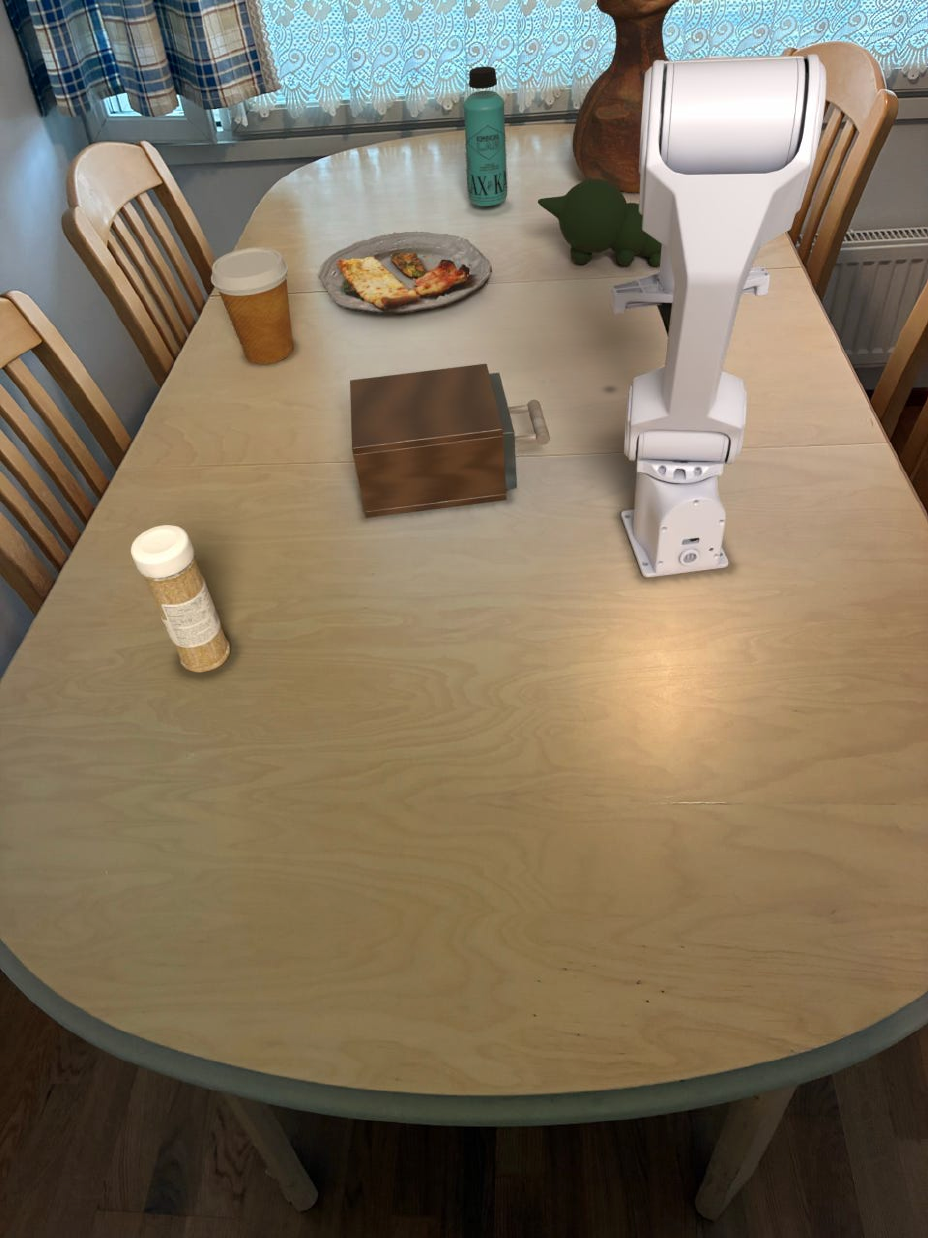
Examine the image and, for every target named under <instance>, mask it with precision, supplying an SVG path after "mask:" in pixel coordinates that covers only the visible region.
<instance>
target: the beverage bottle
mask: <svg viewBox="0 0 928 1238" xmlns="http://www.w3.org/2000/svg"><path fill="white" fill-rule="evenodd" d="M496 71H497V70H496V68H495V67H492V66H477V67H473V68H472V69H470V70H469V78H468V87H470V88H471V89H476V90H480V91H475V92H472V93H470V94H469V95H468V96H467V98H466V99H465V100H464V102H463V106H462V107H463V108H462V109H463V113H464V114H463V117H464V135H465V136H464V137H465V144H464V146H465V157H464V158H465V162H466V163H465V166H466V169H465V171H466V184H467V185H466V187H467V188H466V189H467V193H468V199H469V202H470V203H471V204H472V205H475V206H479V207H489V206H496V205H499V204H501V203H504V202H505V201H506V200H507V198H508V197H507V196H508V191H509V190H508V189H509V185H508V183H509V181H508V178H509V177H508V170H507V161H508V160H507V157H508V154H507V150H508V149H507V147H506V146H507V144H506V143H507V142H506V141H507V140H506V139H507V135H506V123H505V119H506V118H505V100H504V99H503V97H502V96H501V95H500V94H499V93H497V92H496V91H494V90H482V89H490V88H494V87H495V86H497V85H498V79H497V72H496Z"/></svg>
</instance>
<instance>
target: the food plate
mask: <svg viewBox="0 0 928 1238" xmlns="http://www.w3.org/2000/svg"><path fill="white" fill-rule="evenodd" d="M491 263H492V262H490V260H489V259H488V258H487V257H486V256H485V255H484V254H483V253H482V252H481V251H480V250H479V248H477V247H476V246H475V245H474V244H473V243H472V242H470V240H468V238H464V237H461V236H459V235H452V234H448V233H444V234H442V233H436V232H435V233H434V232H428V231H412V232H411V231H408V232H407V231H404V232H395V231H394V232H392V233H391V234H390V232H389V233H387V234H381V235H377V236H373V237H370V238H367V239H363V240H358V241H356V242H353V243H352V244H350V245H348V246H346V247H343V248H341V249H339V250H337V251H336V252H334V253H333V254H331V255H330V256H328V258H326V259H325V260H324V261H323V263H321V265H320V268H319V271H318V272H317V276H318V278H319V280H320V281H321V283H322V286H323V287H324V289H325V290H326V292H328V294H329V296H330V297H331V299H332V300H333V302H335V303H336V304H337V305H339V306H340V307H341V308H345V309H346V310H349V311H355V312H361V313H362V312H363V313H367V314H374V315H391V314H392V315H400V316H401V315H404V314H405V315H406V314H409V313H414V312H416V313H417V312H419V311H426V310H432V309H434V308H441V307H445V308H446V307H447V306H449V305H452V304H453V305H454V304H455V303H458V302H460V301H462V300H464V299H465V298H467V297H468V296H469V295H471V294H472V293H474V292H476V291H479V290H482V289H483V287H484V286H485V285H486V284H487V283H489V280H490V278H491V273H493V268H492V264H491Z"/></svg>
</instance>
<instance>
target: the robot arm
mask: <svg viewBox="0 0 928 1238" xmlns="http://www.w3.org/2000/svg"><path fill="white" fill-rule="evenodd" d="M826 95H827V69H826V67H825V65H824V64H823V63H822V61H821V60H820V57H819V56H818V55H817V54H816V53H812V54H805V56H801V55H751V56H750V55H749V56H729V55H711V56H710V55H709V56H707V57H701V58H700V57H698V58H686V59H674V60H670V61H664V60H656V61H654V63H653V67H650V68H649V69H648V70H647V72H646V73H645V80H644V92H643V107H642V122H641V138H640V156H639V173H640V174H641V176H640V193H639V198H638V204H639V213H640V214H641V215H643V222H642V230H643V231H644V232H646V233H647V234H648V235H650V236H651V237H653V238H654V239H656V240H657V241H659V242H660V243H661V244H662V248H661V260H660V266H659V272H656V273H652V274H649V275H646V276H643V277H640V278H637V279H634V280H631V281H627V282H622V283H617V284H611V285H610V291H609V293H610V294H609V306H610V308H611V310H612V312H613V314H614V315H617V314H624V313H626V310H630V309H639V308H640V309H641V308H647V307H655V306H656V307H657V310H658V312H659V315H660V317H661V319H662V323H663V326H664V329H665V333H666V336H667V343H666V353H665V361H664V366H662V367H660V368H657V369H655V370H654V369H653V370H651V371H649V372H645V373H643V374H641V375H637V376H636V377H634V378H633V383H632V384H631V385H630V386H629V391H628V393H627V401H626V415H625V428H624V444H623V449H624V450H623V454H624V455H625V456H626V458H627V459H628V461H633V462H635V461H636V468H635V469H636V481H635V482H636V483H635V496H634V509H626V510H625V509H624V510H622V511H621V513H620V518H621V520H622V523H623V525H624V529H625V531H626V534H627V537H628V539H629V540H628V541H629V542H630V545H631V548H632V550H633V553H634V556H635V558H636V561H637V564H638V567H639V570H640V572H641V575H642V576H643V577H644V578H655V577H663V576H669V575H677V574H685V573H693V572H700V571H701V572H702V571H708V570H716V569H724V568H727V567H728V566H729V562H730V561H729V559H728V557H727V555H726V552H725V550H724V549H723V540H724V533H725V528H726V523H727V522H726V521H727V513H726V509H725V507H724V504H723V502H722V499H721V497H720V492H719V477H720V476H722V475H723V473H724V468H725V467H724V466H725V465H733V464H734V463H735V461H737V460H738V459H739V458H740V456H741V452H742V449H743V443H744V437H745V430H746V423H747V422H746V421H747V409H748V408H747V405H748V389H747V387H745V380H744V379H742V378H740V377H739V376H736V375H734V374H731V373H729V372H727V371H725V370H724V366H725V362H726V358H727V355H728V349H729V346H730V341H731V337H732V333H733V329H734V325H735V321H736V318H737V317H736V316H737V313H738V310H739V309H738V308H739V305H740V302H741V297H742V296H744V295H751V294H754V295H755V296H756V297H763V296H768V294H769V288H770V282H771V277H772V276H771V274H770V273H769V272H768V270H767V268H765V267H764V266H757V267H756V266H755V267H753V265H754V263H755V262H756V259H757V256H758V254H759V252H760V249H762V248H763V247H765V246H766V245H767V244H769V243H771V242H772V241H774V240H775V239H777V238H779V237H780V236H783V235H784V234H786V233H787V232H789V231H790V230H792V227H793V224H794V221H795V217H796V214H797V213H798V212H800V210H801V208H802V205H803V202H804V198H805V195H806V191H807V188H808V184H809V181H810V180H811V179H810V178H811V175H812V171H813V168H814V166H815V165H814V164H815V160H816V156H817V153H818V147H819V142H820V138H821V132H822V128H823V122H824V113H825V106H826V97H827V96H826Z"/></svg>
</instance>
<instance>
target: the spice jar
mask: <svg viewBox="0 0 928 1238" xmlns="http://www.w3.org/2000/svg"><path fill="white" fill-rule="evenodd" d="M130 554H131V557H132V560H133V562H134V565H135V566H136V569H137V570H138V572H139V573H140V574H142V577H143V578H144V581H145V583H146V585H147V587H148V590H149V592H150V594H151V597H152V598H153V601H154V603H155V605H156V608H157V611H158V612H159V616H160V618H161V621H162V623H163V625H164V628H165V630H166V632H167V634H168V636H169V638H170V640H171V642H172V643H173V645H174V648H175V650H176V652H177V654H178V657H179V662H180V664H181V665H182V667H184V669H186V670H187V671H190V672H193V673H204V672H209V671H213V670H216V669H217V668H219V667H220V666H222V665H223V664H224V663H225V662H226V661H227V659H228V657H229V656H230V654H231V644H230V642H229V641H228V639H227V637H226V635H225V633H224V630H223V628H222V625H221V620H220V617H219V614H218V612H217V609H216V606H215V604H214V601H213V599H212V597H211V594H210V592H209V589H208V586H207V583H206V581H205V578H204V577H203V575H202V573H201V570H200V568H199V565H198V563H197V559H196V558H195V549H194V546H193V543H192V541H191V539H190V536H189V534H188V533H187V531H186V530H185V529H184V528H181V526H180V527H179V526H178V525H172V524H162V525H157V526H154V527H151V528H149V529H146V530H144V531H143V532H142V533H140V534H139V535H138V536H137V537H136V538H135V539H134V541H133V542H132V543H131V547H130Z"/></svg>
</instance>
